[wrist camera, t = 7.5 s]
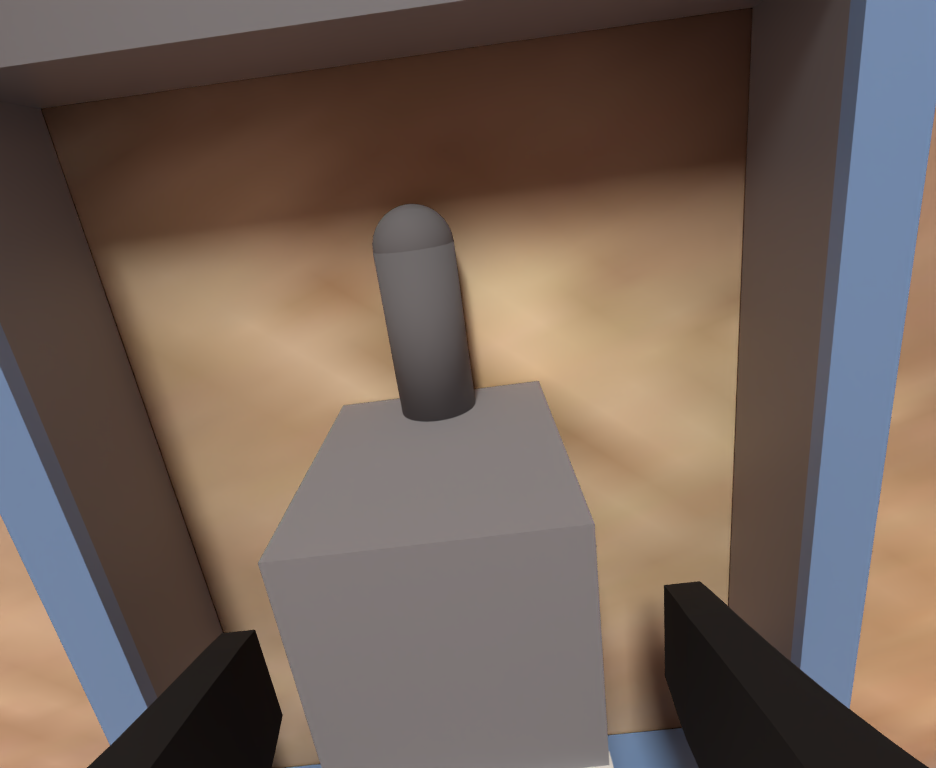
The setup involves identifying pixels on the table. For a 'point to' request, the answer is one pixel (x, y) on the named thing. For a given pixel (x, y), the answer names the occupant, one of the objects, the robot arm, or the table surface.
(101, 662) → the grey divided rectangular frame
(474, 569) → the cord plug
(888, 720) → the table surface
